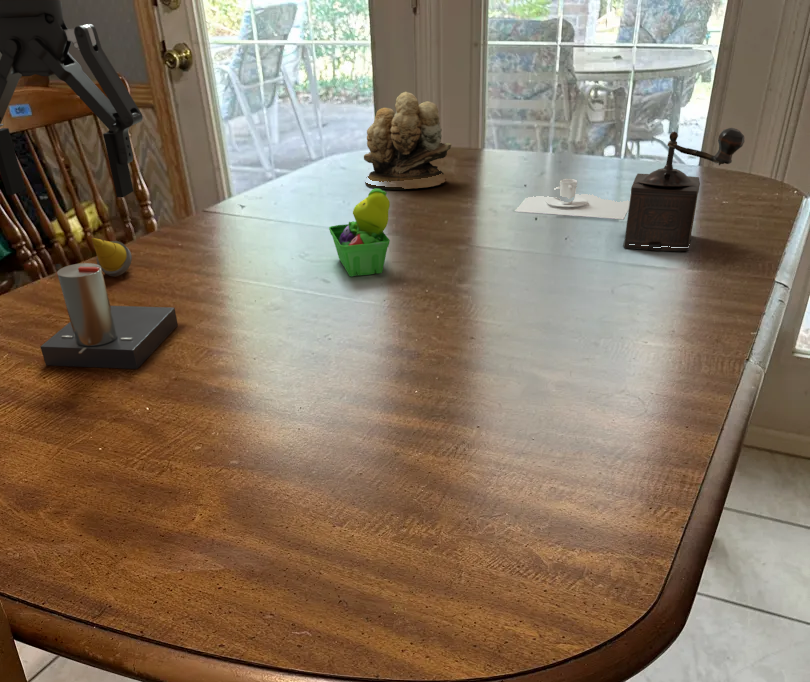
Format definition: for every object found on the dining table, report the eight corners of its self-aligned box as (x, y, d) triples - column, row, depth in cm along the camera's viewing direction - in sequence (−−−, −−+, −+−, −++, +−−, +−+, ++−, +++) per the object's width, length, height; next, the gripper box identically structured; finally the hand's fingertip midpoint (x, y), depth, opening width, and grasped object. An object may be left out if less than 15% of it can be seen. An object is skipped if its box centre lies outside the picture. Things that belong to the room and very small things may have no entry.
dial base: (39, 371, 101) (33, 350, 100) (94, 322, 114) (89, 303, 112) (132, 374, 100) (127, 354, 98) (178, 325, 112) (174, 306, 111)
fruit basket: (329, 257, 134) (324, 184, 127) (383, 252, 136) (380, 179, 129) (343, 280, 125) (338, 202, 118) (399, 274, 127) (398, 197, 120)
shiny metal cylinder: (68, 345, 101) (48, 273, 96) (86, 329, 105) (68, 260, 100) (107, 347, 100) (89, 274, 95) (124, 330, 104) (107, 261, 99)
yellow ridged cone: (145, 272, 132) (114, 243, 122) (117, 290, 132) (84, 261, 122) (131, 246, 132) (99, 214, 123) (103, 263, 133) (69, 233, 123)
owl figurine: (449, 175, 177) (450, 85, 166) (452, 189, 167) (453, 94, 157) (365, 177, 177) (361, 87, 167) (363, 191, 167) (358, 97, 157)
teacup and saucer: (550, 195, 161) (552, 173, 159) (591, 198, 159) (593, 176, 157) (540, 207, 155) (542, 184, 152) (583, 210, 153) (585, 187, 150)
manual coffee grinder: (621, 249, 134) (637, 127, 123) (627, 230, 142) (643, 114, 132) (721, 257, 130) (747, 131, 119) (722, 236, 138) (746, 117, 128)
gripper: (146, -36, 84) (185, 186, 96) (-75, -30, 87) (-10, 183, 100) (113, -33, 78) (158, 204, 90) (-123, -27, 81) (-48, 199, 94)
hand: (70, 193), depth 95 cm, fingers open, 13 cm apart
